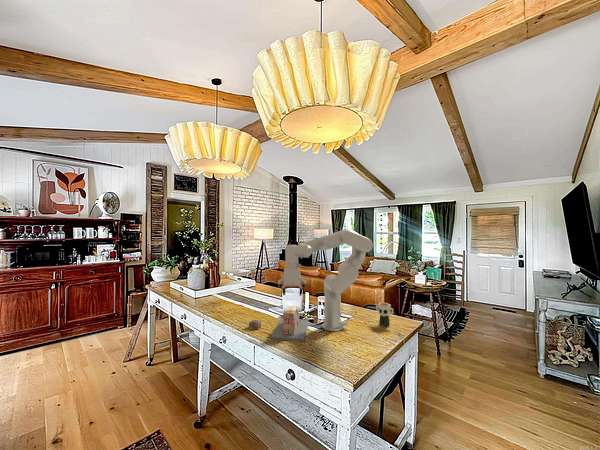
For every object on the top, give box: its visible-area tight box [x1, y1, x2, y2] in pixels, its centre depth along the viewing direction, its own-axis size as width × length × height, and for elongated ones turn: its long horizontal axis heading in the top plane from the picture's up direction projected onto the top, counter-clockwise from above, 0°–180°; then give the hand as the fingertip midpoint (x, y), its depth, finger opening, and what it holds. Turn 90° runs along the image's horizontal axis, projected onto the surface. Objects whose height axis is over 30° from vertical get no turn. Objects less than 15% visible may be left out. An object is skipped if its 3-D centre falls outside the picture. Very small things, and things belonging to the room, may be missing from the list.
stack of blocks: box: [282, 305, 300, 335], centre depth 155 cm, size 21×6×12 cm, turn 172°
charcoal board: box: [270, 318, 310, 342], centre depth 154 cm, size 18×28×1 cm, turn 174°
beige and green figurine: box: [375, 302, 394, 327], centre depth 163 cm, size 11×7×13 cm, turn 54°
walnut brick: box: [248, 319, 262, 330], centre depth 157 cm, size 6×4×4 cm, turn 73°
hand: (292, 295), depth 154 cm, fingers open, 9 cm apart
